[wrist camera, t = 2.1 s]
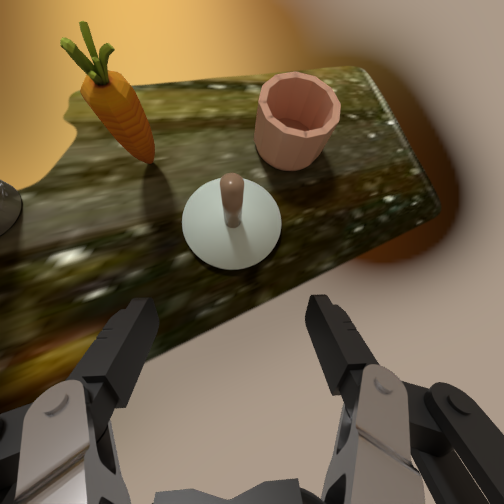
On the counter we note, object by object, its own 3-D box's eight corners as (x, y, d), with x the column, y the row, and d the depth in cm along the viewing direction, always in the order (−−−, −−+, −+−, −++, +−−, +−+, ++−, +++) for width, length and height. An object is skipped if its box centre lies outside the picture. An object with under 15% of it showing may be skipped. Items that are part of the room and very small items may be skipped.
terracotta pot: (267, 179, 30) (277, 144, 24) (245, 124, 33) (248, 78, 26) (328, 163, 32) (353, 127, 26) (303, 113, 35) (320, 67, 28)
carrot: (146, 144, 30) (65, -1, 16) (174, 158, 30) (117, 25, 15) (126, 167, 29) (18, 32, 14) (155, 182, 29) (73, 61, 14)
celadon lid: (198, 283, 26) (177, 273, 16) (174, 194, 29) (143, 140, 19) (293, 253, 28) (323, 228, 18) (261, 173, 31) (273, 115, 21)
